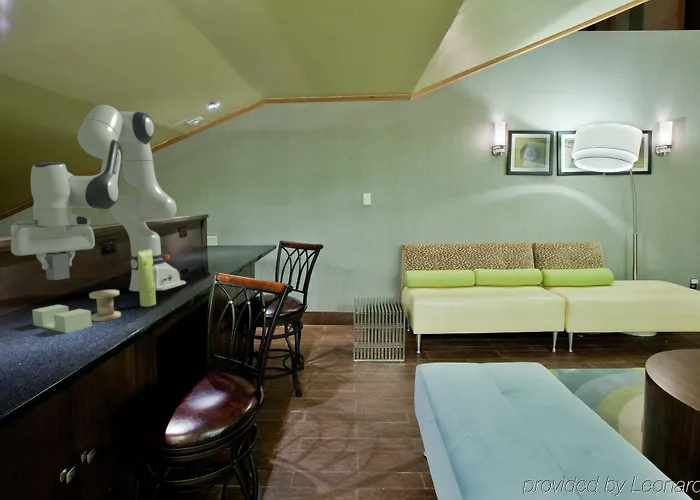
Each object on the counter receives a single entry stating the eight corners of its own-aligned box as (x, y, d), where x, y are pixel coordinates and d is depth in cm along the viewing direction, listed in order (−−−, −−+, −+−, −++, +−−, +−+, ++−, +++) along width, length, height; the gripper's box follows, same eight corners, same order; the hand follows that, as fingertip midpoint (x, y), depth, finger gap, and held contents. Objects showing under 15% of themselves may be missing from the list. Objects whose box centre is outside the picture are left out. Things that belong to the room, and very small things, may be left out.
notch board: (59, 319, 124) (58, 304, 123) (91, 326, 116) (90, 310, 116) (33, 325, 117) (32, 309, 117) (65, 333, 110) (64, 316, 110)
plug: (69, 277, 116) (67, 249, 115) (54, 280, 113) (52, 251, 112) (61, 276, 118) (59, 249, 117) (46, 279, 114) (44, 250, 113)
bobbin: (110, 312, 131) (109, 288, 130) (126, 315, 127) (124, 291, 126) (85, 319, 124) (83, 293, 123) (101, 322, 120) (99, 296, 119)
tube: (157, 305, 139) (154, 250, 137) (141, 308, 137) (137, 251, 134) (154, 302, 144) (151, 248, 142) (139, 304, 141) (135, 249, 139)
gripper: (15, 221, 103) (20, 274, 104) (96, 218, 121) (99, 263, 122) (3, 220, 106) (8, 272, 107) (83, 218, 124) (87, 262, 125)
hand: (57, 267), depth 115 cm, fingers closed on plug, 4 cm apart
